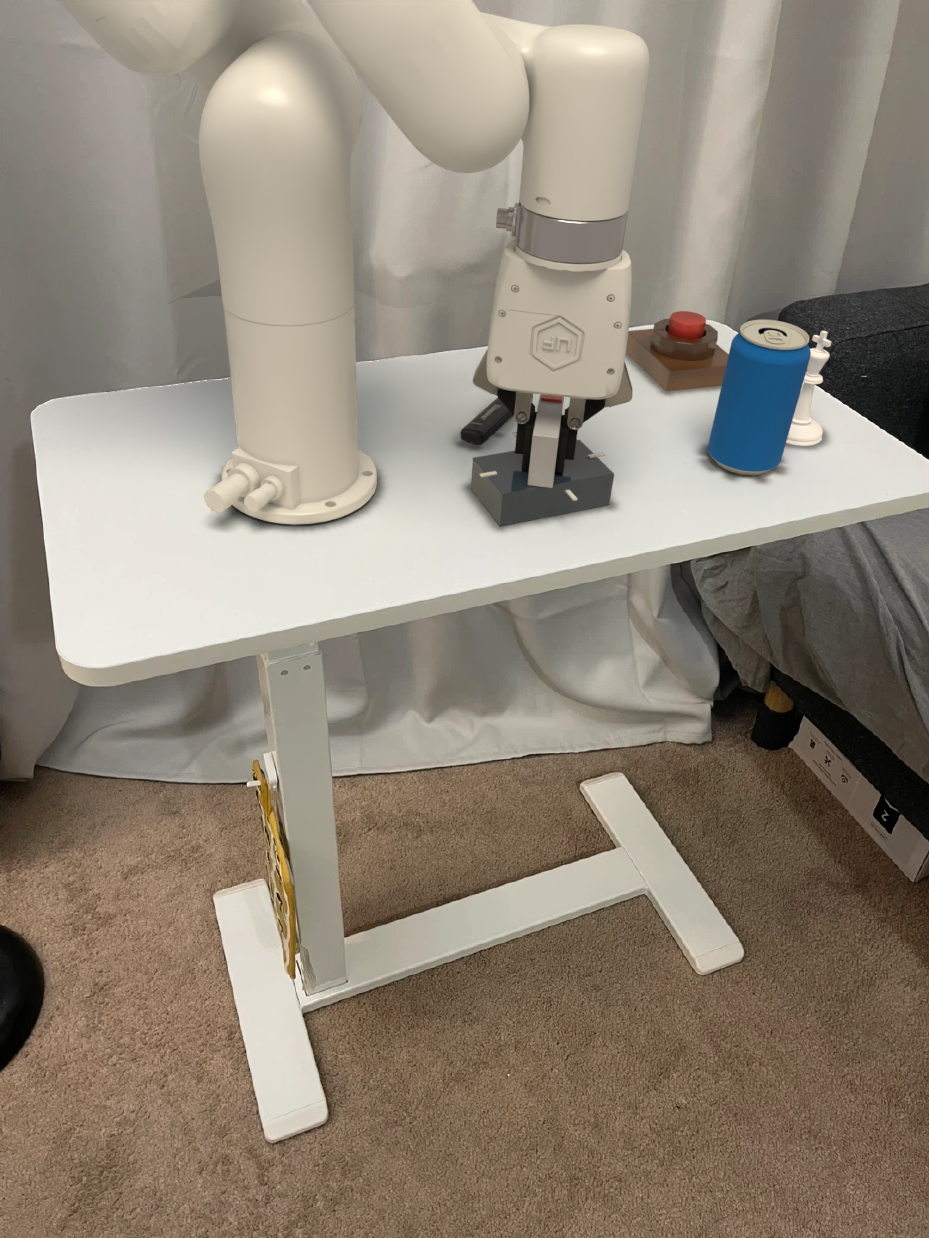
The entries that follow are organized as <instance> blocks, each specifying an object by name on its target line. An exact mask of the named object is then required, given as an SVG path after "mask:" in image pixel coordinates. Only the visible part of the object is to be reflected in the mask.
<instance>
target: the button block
mask: <svg viewBox="0 0 929 1238" xmlns="http://www.w3.org/2000/svg"><path fill="white" fill-rule="evenodd" d="M669 321H670V318H663V319H660V320H658V321H657V322H655V323H654V324H653V328H647V329H634V330H629V331H628V340H627V349H626V355H628V356H629V357H630V358H631V359H632V360H633V361H634V362H635V363H636V364H637V365H638V366H639V367H640V368H641V369H642V370H643V371H644V372H646V374H647V375H649V376H650V377H651V379H653V381H655V382H656V384H658V386H660V387H661V388H662V389H663V390H664V391H665V392H666V393H667V392H675V391H685V390H694V389H695V390H696V389H703V388H704V389H705V388H713V387H714V388H715V387H721V386H722V382H723V378H724V373H725V369H726V365H727V360H728V356H729V352H727V351H726V350H724V349H723V348H722V347H721V346H720V345H718V344H717V343H718V339H719V331H718V330H717V329H716V328H714V327H713V326H712V325H710V324H708V323H706V324H705V328H704V333H703V337H702V338H699V339H684V338H678V337H676V336H673V335H670V334H669V333H668V326H669Z"/></svg>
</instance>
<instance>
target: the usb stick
mask: <svg viewBox="0 0 929 1238" xmlns="http://www.w3.org/2000/svg"><path fill="white" fill-rule="evenodd" d="M512 418H514V415H513V414H512V413H511V412H510V411H509V409H508V408H507V407H506V406H505V405H504V404H503V403H502V402H501V400H500V399H499V398H498V397H496V398H495V399H494V400H493V401H492V402H491V403H490V404H488V406H486V407H485V408H484V409H483V410H482V411H481V412H479V413H478V415H476V416H475V417H474V418H473V419H472V420H471V421H469V422H468V423H467V424H466V425H465V426H463V428H461V430H460V439H461V441H464V442H465V443H467V444H470V445H473V446H474V445H475V446H482V445H484V444H485V443H486V442H487V441H488V440H489V439H490V438H491V437H492V436H493V435H495V434H496V432H498V431H499V430H500V429H501V428H502V427H504V425H505V424H506V423H507V422H508V421H510V420H511V419H512Z"/></svg>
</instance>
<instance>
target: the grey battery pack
mask: <svg viewBox="0 0 929 1238" xmlns="http://www.w3.org/2000/svg"><path fill="white" fill-rule="evenodd" d="M564 402H565V397H561V396H552V395H543V394H539V397H538V402H537V409H536V412H537V413H536V419H535V424H534V430H533V436H532V445H531V455H530V465H529V474H528V485H530V486H538V487H547V488H553V482H554V474H555V466H556V458H557V450H558V442H559V434H560V426H561V419H562V415H563V411H564V404H565V403H564Z"/></svg>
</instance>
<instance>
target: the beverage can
mask: <svg viewBox="0 0 929 1238" xmlns="http://www.w3.org/2000/svg"><path fill="white" fill-rule="evenodd" d="M809 342H810V335H809V334H808V332H806V331H805V330H804V329H803V328H800V327H799V326H797V325H795V324H792V323H788V322H785V321H780V320H775V319H754V320H748V321H746V322H744V323H743V324H741V326H740V328H739V332H738V333H737V334H736V335H734V336H733V338H732V340H731V343H730V347H729V351H728V354H729V356H728V360H727V365H726V369H725V373H724V378H723V382H722V386H720V391H719V396H718V399H717V405H716V409H715V413H714V418H713V421H712V427H711V431H710V435H709V439H708V445H707V453H708V454H709V456H710V457H711V458H712V459H713V461H715V463H716V464H717V465H718V466H719V467H720V468H722V469H723V470H726V471H728V472H731V473H732V474H737V475H741V476H742V475H743V476H757V475H762V474H765V473H767V472H768V471H772V470H774V469H776V468H777V467H779V465H780V464H781V462H782V458H783V455H784V451H785V447H786V444H787V443H786V441H787V438H788V434H789V430H790V427H791V423H792V420H793V416H794V413H795V409H796V406H797V402H798V399H799V395H800V392H801V389H802V387H803V384H804V382H803V381H804V377H805V374H806V371H807V367H808V363H809V360H810V356H811V351H810V349H811V347H810V346H809Z"/></svg>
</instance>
